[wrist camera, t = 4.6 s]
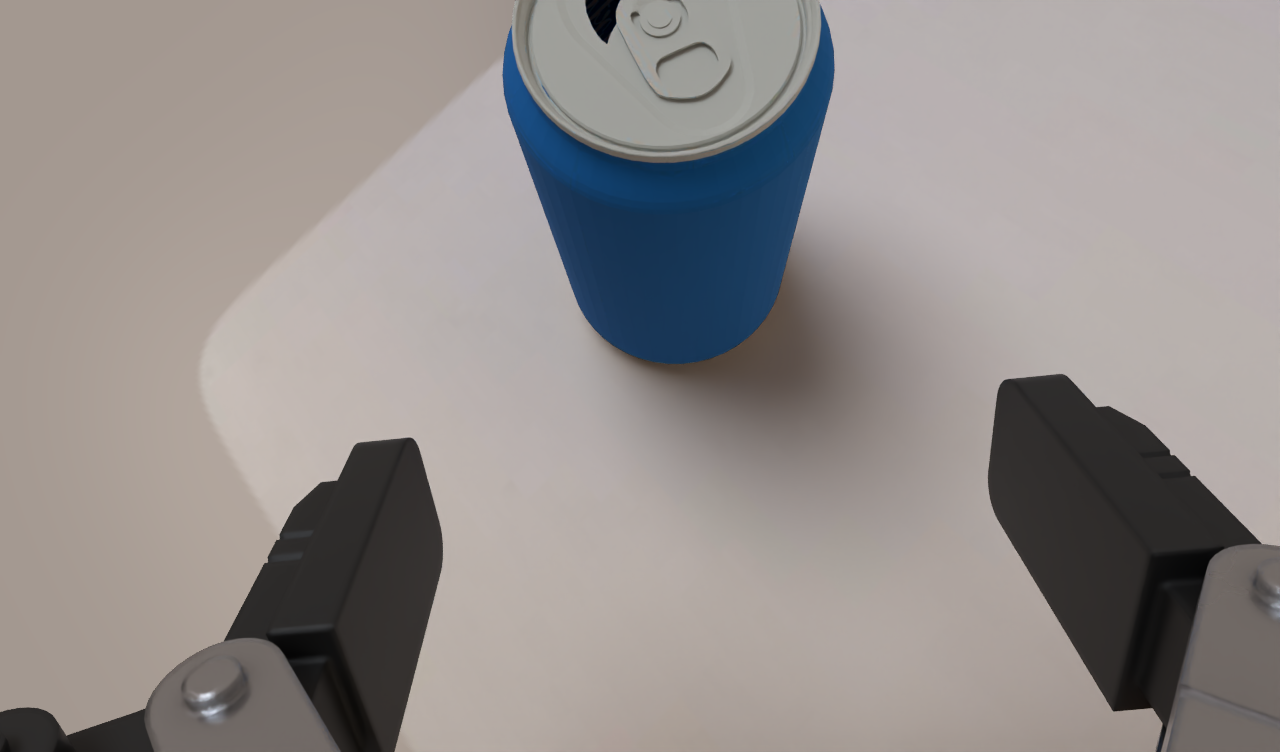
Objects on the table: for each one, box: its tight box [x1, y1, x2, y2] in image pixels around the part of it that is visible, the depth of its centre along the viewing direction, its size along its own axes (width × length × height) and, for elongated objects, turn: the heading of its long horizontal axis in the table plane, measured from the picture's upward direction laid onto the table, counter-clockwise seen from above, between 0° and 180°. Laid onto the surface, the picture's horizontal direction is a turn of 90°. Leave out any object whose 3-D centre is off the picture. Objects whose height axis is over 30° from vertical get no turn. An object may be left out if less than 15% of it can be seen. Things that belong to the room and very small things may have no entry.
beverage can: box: [503, 0, 835, 364], centre depth 21 cm, size 6×6×12 cm
